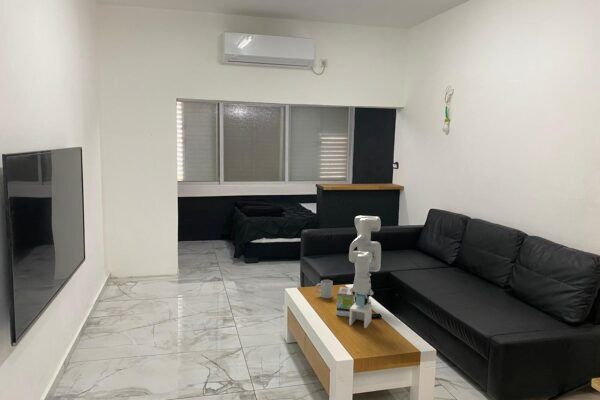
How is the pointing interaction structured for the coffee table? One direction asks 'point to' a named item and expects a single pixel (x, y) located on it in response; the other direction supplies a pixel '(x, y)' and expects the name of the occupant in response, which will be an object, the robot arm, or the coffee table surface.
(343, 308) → the tea box
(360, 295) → the pale blue rectangular block
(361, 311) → the white arch block
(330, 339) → the coffee table surface
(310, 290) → the coffee table surface
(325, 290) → the mug
